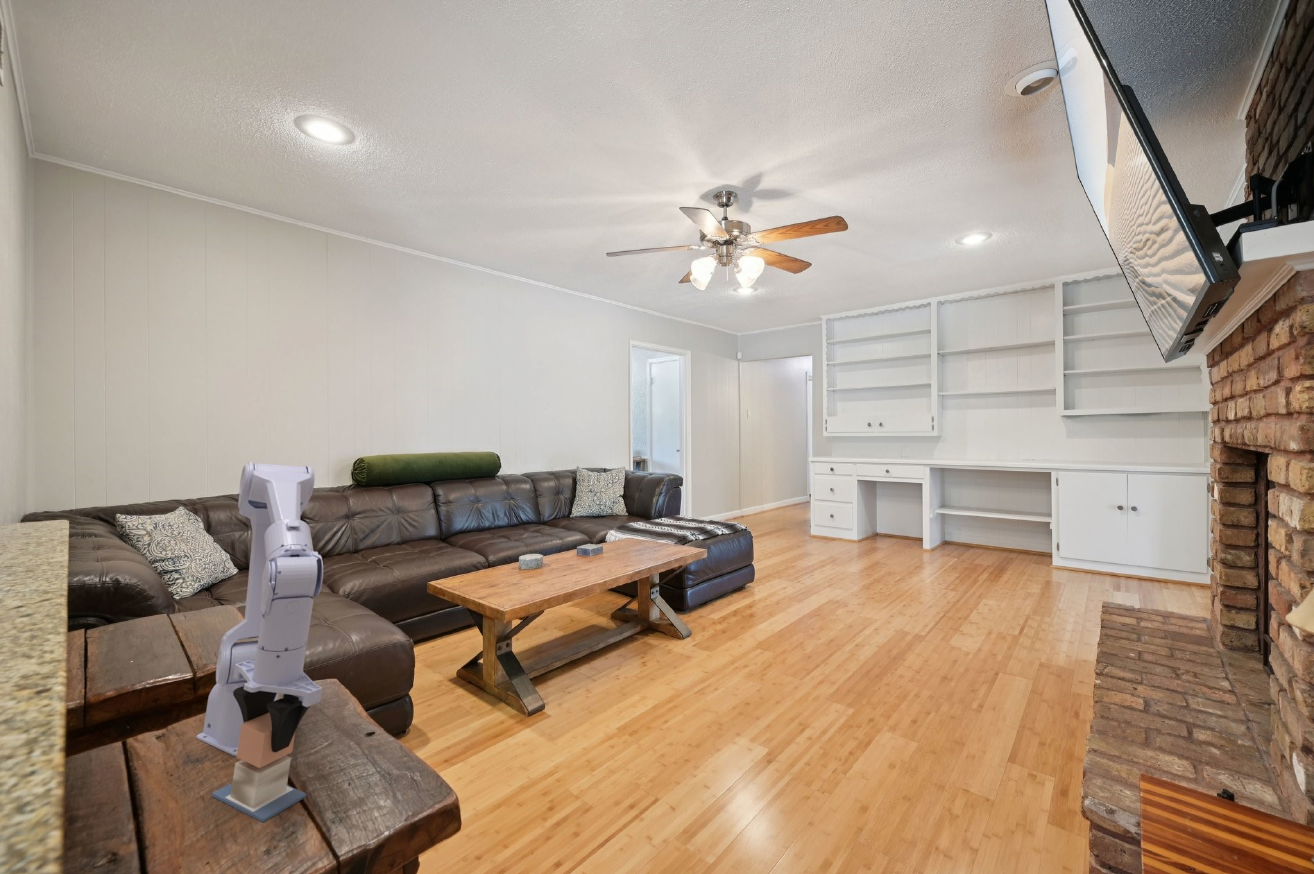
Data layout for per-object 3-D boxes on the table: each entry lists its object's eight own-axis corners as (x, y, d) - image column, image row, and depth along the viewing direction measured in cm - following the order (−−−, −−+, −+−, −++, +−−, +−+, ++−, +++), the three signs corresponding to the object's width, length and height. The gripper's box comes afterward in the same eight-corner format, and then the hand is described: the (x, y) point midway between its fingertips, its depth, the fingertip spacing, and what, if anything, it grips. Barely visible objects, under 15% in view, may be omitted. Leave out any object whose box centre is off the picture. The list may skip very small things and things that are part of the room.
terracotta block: (236, 757, 74) (241, 723, 74) (269, 742, 78) (274, 710, 78) (259, 768, 72) (264, 733, 72) (292, 752, 77) (297, 719, 77)
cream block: (230, 796, 74) (235, 763, 74) (263, 779, 78) (268, 747, 78) (252, 808, 72) (258, 774, 72) (286, 790, 76) (291, 757, 77)
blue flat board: (211, 796, 74) (211, 792, 74) (256, 773, 80) (257, 770, 80) (262, 822, 71) (263, 818, 71) (306, 796, 76) (306, 793, 76)
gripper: (216, 638, 74) (200, 739, 74) (292, 666, 70) (276, 774, 69) (268, 625, 81) (254, 718, 81) (341, 650, 76) (326, 748, 76)
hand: (267, 742), depth 75 cm, fingers closed on terracotta block, 4 cm apart
